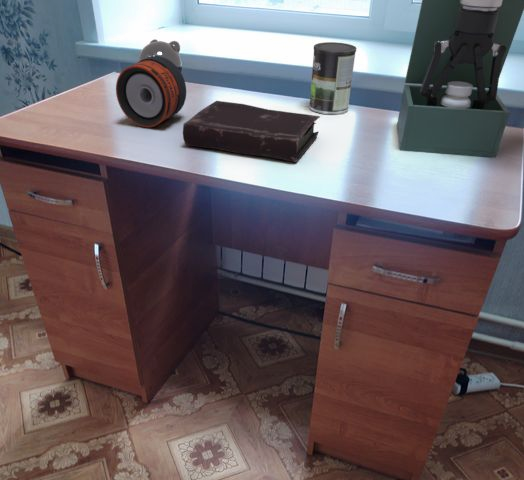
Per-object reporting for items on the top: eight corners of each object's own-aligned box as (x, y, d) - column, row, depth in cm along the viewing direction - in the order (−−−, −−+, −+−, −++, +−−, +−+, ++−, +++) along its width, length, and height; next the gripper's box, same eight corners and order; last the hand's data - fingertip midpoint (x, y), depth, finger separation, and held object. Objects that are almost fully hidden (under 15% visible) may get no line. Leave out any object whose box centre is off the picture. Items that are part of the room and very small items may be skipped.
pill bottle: (447, 147, 108) (462, 89, 101) (425, 138, 112) (438, 82, 105) (466, 142, 111) (482, 85, 104) (444, 134, 115) (458, 79, 107)
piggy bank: (191, 83, 146) (188, 38, 138) (171, 97, 135) (167, 48, 128) (155, 80, 148) (151, 35, 140) (133, 93, 137) (126, 45, 130)
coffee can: (312, 115, 126) (317, 50, 117) (306, 102, 134) (310, 41, 125) (352, 114, 127) (360, 51, 118) (344, 102, 135) (351, 42, 126)
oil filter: (120, 124, 118) (110, 62, 109) (145, 110, 127) (138, 51, 118) (170, 131, 115) (164, 67, 106) (192, 116, 124) (188, 56, 115)
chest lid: (528, -2, 99) (523, -17, 103) (424, -7, 101) (423, -21, 105) (495, 88, 113) (492, 72, 117) (404, 83, 115) (404, 67, 119)
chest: (495, 157, 107) (509, 112, 101) (399, 150, 109) (408, 105, 103) (482, 131, 120) (494, 90, 114) (396, 125, 122) (404, 84, 116)
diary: (295, 165, 102) (297, 139, 98) (183, 147, 108) (181, 123, 104) (319, 135, 115) (321, 112, 112) (218, 121, 121) (217, 99, 118)
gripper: (531, 7, 97) (493, 130, 112) (422, 2, 99) (399, 123, 114) (541, 13, 92) (499, 141, 107) (425, 7, 94) (400, 134, 109)
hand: (447, 132), depth 110 cm, fingers open, 8 cm apart
